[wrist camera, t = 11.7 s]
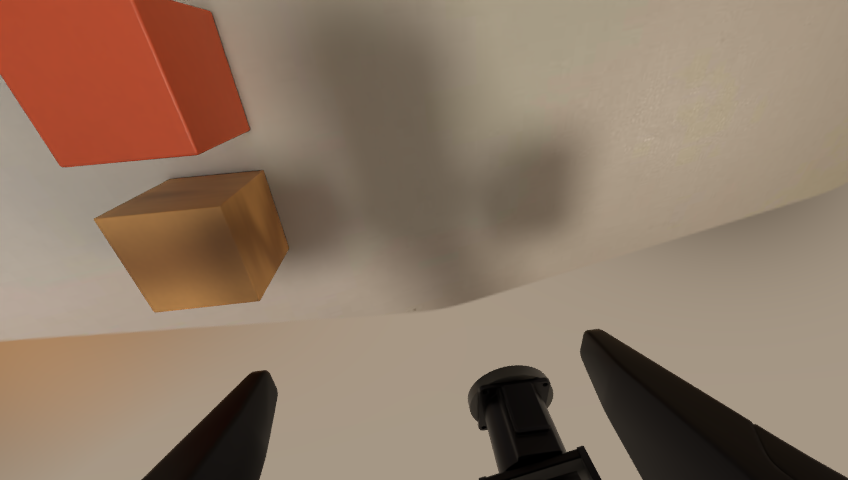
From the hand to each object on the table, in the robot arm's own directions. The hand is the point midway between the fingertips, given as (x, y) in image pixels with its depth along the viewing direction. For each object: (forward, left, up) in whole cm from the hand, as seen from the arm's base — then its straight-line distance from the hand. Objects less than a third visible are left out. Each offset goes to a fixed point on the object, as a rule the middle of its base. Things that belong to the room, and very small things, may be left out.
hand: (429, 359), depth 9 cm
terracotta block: (+7, +10, -11) cm, 17 cm away
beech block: (0, +10, -11) cm, 15 cm away
